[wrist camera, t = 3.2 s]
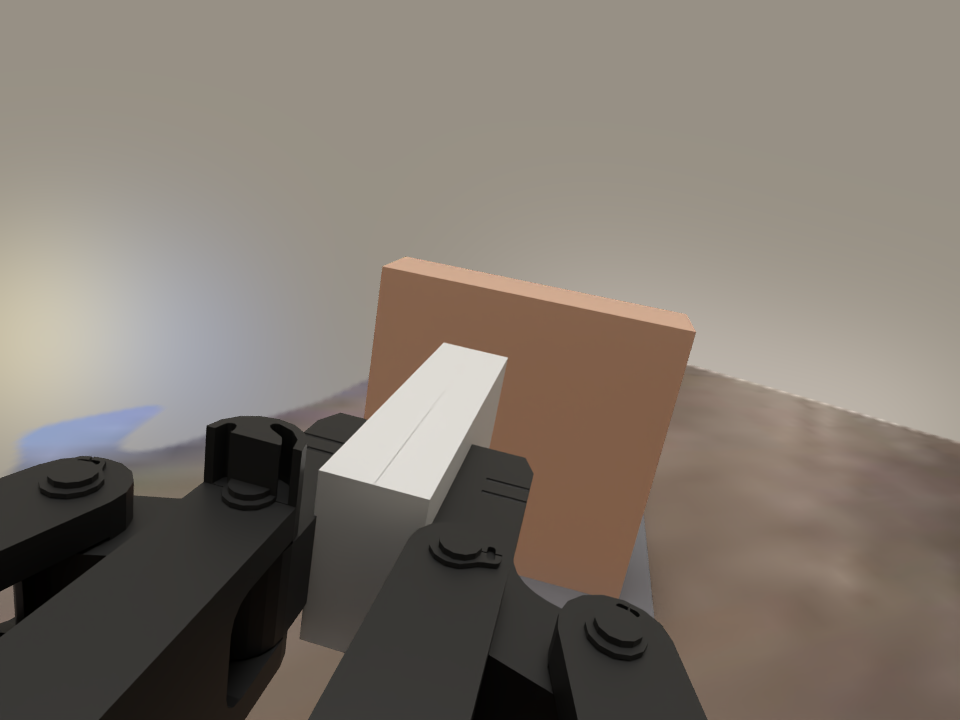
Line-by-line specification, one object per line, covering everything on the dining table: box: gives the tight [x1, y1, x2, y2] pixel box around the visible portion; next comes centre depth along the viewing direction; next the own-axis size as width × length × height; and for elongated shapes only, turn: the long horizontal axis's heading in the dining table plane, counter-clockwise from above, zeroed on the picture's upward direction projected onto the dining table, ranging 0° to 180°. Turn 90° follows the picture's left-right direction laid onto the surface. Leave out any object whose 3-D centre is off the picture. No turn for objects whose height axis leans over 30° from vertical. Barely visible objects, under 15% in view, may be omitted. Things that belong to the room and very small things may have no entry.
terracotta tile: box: [364, 257, 696, 599], centre depth 27 cm, size 12×3×12 cm, turn 79°
